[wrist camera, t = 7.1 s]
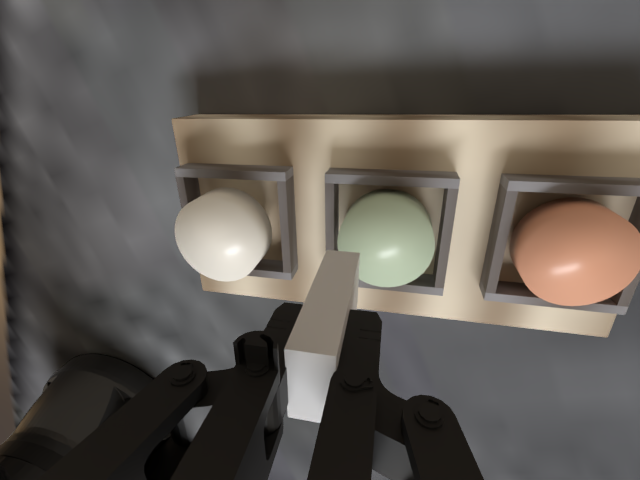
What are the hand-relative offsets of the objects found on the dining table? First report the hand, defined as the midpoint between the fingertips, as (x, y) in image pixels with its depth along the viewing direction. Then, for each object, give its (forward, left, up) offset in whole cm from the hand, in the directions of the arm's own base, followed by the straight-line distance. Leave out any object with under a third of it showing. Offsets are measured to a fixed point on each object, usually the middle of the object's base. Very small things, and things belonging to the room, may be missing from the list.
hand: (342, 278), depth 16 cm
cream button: (-7, 0, -4) cm, 8 cm away
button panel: (+2, 0, -9) cm, 9 cm away
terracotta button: (+11, 0, -5) cm, 12 cm away
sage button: (+2, 0, -5) cm, 5 cm away
